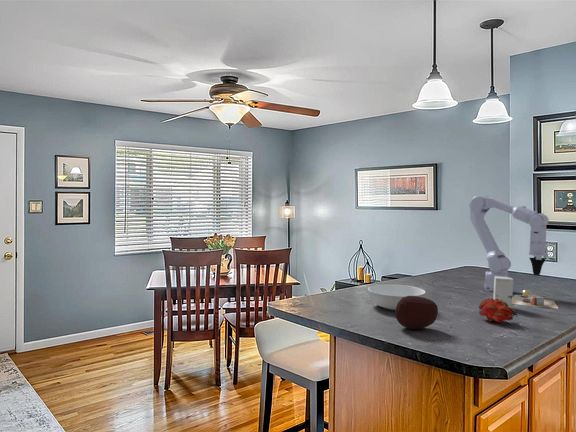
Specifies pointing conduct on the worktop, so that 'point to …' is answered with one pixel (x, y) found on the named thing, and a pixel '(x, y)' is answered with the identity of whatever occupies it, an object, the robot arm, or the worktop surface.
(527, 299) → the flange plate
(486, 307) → the dragon fruit
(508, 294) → the skincare box
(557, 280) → the worktop surface
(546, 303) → the board
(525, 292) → the post
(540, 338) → the worktop surface
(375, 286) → the serving bowl
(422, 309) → the potato
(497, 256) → the robot arm
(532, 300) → the dowel
